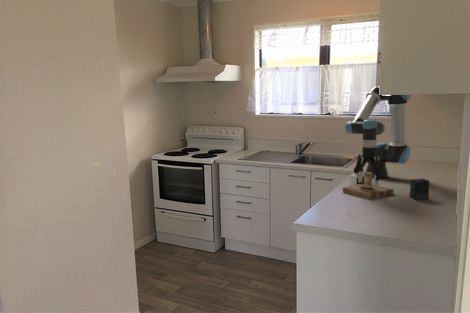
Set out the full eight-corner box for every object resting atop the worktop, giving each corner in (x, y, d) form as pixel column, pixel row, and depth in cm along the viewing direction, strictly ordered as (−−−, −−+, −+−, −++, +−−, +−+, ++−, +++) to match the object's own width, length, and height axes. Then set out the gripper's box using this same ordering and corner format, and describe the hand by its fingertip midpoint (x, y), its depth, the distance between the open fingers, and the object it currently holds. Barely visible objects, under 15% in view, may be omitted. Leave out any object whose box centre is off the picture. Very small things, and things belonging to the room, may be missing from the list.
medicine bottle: (356, 188, 241) (357, 169, 239) (350, 185, 247) (350, 167, 245) (366, 187, 242) (367, 168, 241) (360, 184, 249) (360, 166, 247)
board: (365, 187, 241) (365, 182, 241) (393, 194, 224) (393, 189, 224) (342, 192, 231) (342, 187, 231) (369, 199, 214) (370, 194, 214)
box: (422, 196, 217) (423, 178, 215) (428, 199, 211) (429, 180, 210) (409, 197, 216) (410, 179, 215) (414, 200, 211) (415, 181, 209)
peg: (367, 191, 231) (367, 172, 229) (373, 193, 227) (374, 173, 225) (362, 192, 228) (362, 173, 227) (368, 194, 225) (368, 174, 223)
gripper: (349, 145, 231) (348, 181, 235) (381, 149, 212) (380, 188, 215) (357, 144, 235) (356, 179, 239) (390, 148, 215) (389, 186, 219)
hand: (368, 184), depth 227 cm, fingers open, 11 cm apart
